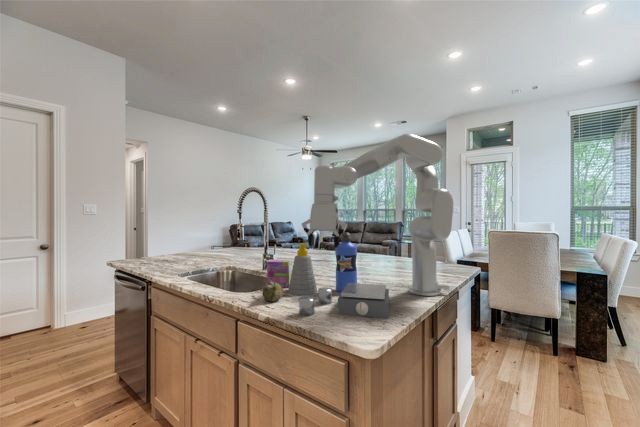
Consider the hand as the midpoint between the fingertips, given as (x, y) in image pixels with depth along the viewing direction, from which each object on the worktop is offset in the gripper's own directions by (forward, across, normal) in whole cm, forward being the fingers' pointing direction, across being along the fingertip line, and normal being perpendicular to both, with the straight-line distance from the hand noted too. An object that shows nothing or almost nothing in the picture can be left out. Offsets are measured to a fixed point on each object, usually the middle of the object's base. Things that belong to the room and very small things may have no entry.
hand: (323, 246), depth 105 cm
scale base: (+21, -16, 0) cm, 26 cm away
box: (+22, +27, -19) cm, 39 cm away
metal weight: (+21, 0, -2) cm, 21 cm away
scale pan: (+15, -15, 0) cm, 22 cm away
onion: (+22, +20, +2) cm, 29 cm away
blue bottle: (+21, -4, -20) cm, 29 cm away
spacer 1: (+21, +2, +11) cm, 24 cm away
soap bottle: (+21, +14, -14) cm, 29 cm away
